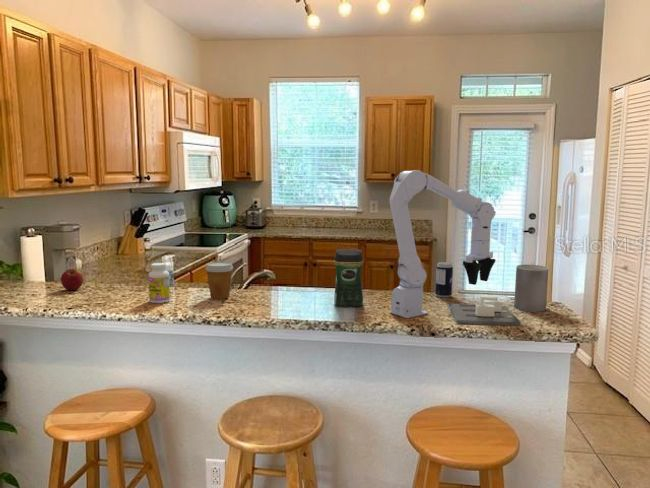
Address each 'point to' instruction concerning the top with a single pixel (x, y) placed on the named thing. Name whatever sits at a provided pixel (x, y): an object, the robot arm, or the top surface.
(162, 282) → the supplement bottle
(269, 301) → the top surface
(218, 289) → the disposable coffee cup
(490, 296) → the handle far
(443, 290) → the beverage can
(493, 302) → the handle middle
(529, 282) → the pillar candle
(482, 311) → the handle
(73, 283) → the apple
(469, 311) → the breaker panel
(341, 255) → the coffee jar
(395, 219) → the robot arm
